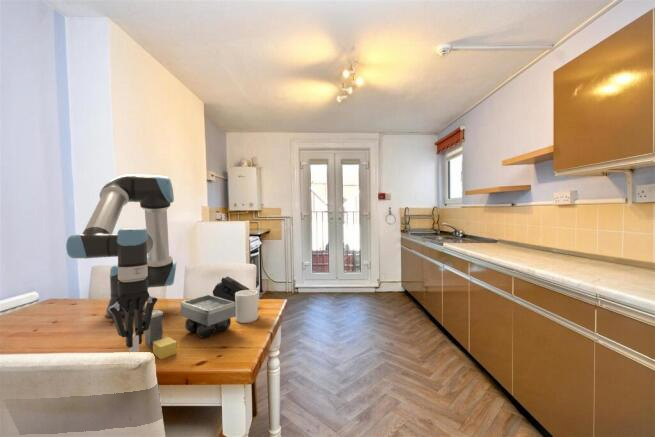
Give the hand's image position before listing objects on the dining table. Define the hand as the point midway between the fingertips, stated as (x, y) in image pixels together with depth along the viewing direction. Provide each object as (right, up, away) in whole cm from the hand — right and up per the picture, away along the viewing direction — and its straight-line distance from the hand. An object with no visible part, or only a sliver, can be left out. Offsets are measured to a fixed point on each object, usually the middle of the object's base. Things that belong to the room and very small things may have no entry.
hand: (134, 356), depth 88 cm
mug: (+24, -2, +39) cm, 46 cm away
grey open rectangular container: (+12, -2, +25) cm, 28 cm away
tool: (+12, -2, +55) cm, 56 cm away
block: (+5, -3, +8) cm, 10 cm away
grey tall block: (-3, -3, +15) cm, 16 cm away
